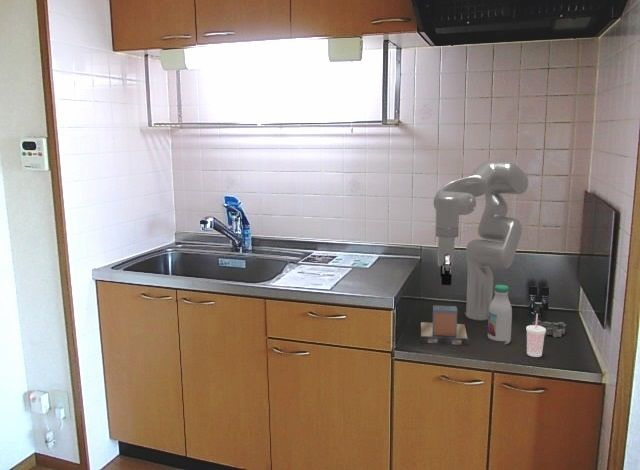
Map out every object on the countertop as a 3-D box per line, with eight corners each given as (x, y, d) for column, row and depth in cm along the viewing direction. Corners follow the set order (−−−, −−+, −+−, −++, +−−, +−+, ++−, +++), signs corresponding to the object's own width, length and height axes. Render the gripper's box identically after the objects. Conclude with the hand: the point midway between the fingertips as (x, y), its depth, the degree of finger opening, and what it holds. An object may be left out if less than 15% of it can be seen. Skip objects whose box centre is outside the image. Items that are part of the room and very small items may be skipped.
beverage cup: (543, 351, 187) (546, 311, 184) (545, 358, 181) (548, 317, 178) (523, 349, 188) (526, 310, 186) (525, 356, 183) (527, 316, 180)
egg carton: (567, 333, 202) (568, 323, 202) (558, 339, 197) (559, 328, 196) (538, 326, 210) (539, 315, 209) (529, 331, 205) (530, 321, 204)
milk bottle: (510, 338, 198) (513, 284, 194) (510, 346, 191) (513, 290, 187) (488, 335, 201) (490, 282, 197) (486, 343, 194) (489, 288, 190)
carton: (455, 336, 197) (456, 306, 195) (456, 341, 192) (457, 311, 190) (432, 334, 199) (433, 305, 196) (432, 340, 194) (433, 310, 191)
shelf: (464, 328, 209) (464, 319, 208) (468, 349, 189) (469, 339, 188) (420, 325, 212) (421, 317, 211) (420, 346, 192) (420, 337, 191)
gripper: (435, 226, 197) (433, 273, 200) (436, 237, 180) (435, 287, 184) (456, 227, 196) (455, 274, 199) (460, 237, 179) (458, 288, 183)
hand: (445, 280), depth 191 cm, fingers open, 9 cm apart
